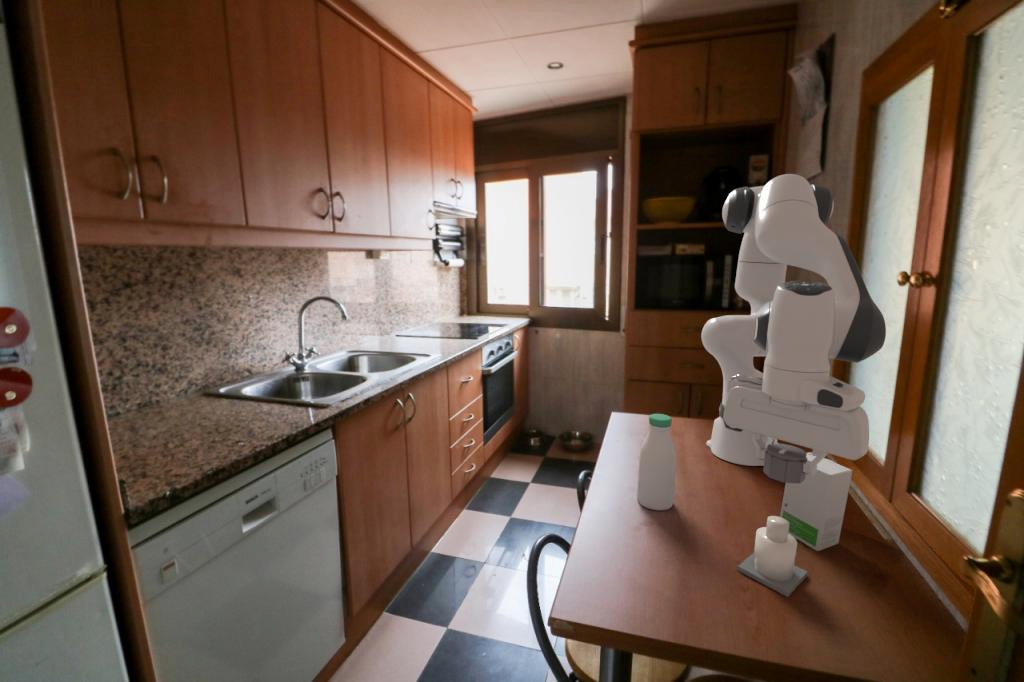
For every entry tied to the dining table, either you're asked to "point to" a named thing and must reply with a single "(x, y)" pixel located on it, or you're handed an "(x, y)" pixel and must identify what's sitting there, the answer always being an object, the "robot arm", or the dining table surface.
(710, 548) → the dining table surface
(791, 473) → the cap
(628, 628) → the dining table surface
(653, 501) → the milk bottle
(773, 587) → the jar
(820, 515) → the skincare box
